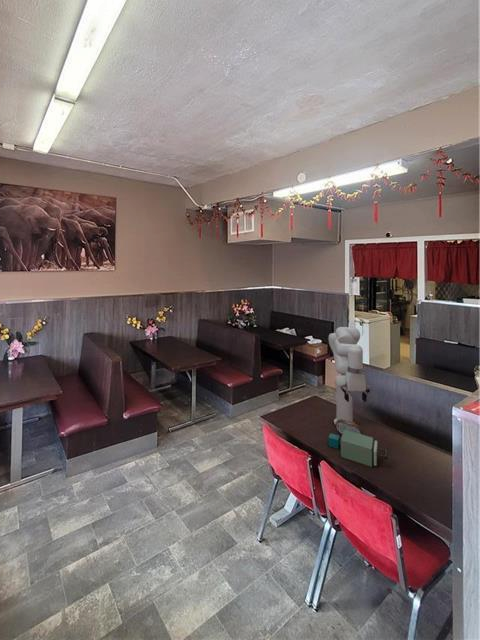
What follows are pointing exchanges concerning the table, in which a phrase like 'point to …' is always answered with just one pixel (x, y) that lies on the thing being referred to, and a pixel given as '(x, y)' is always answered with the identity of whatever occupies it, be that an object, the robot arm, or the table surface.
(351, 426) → the tin
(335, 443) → the cube
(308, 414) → the table surface
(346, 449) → the cabinet
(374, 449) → the drawer
